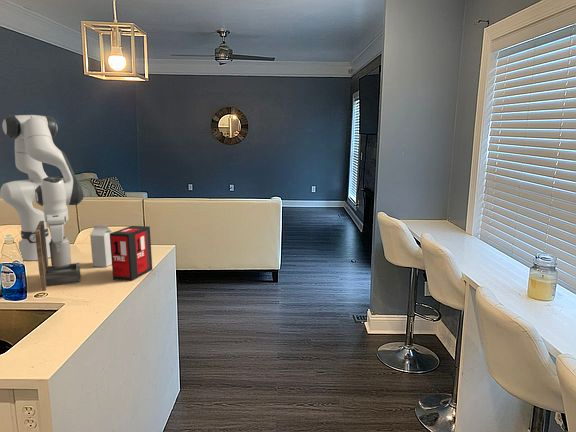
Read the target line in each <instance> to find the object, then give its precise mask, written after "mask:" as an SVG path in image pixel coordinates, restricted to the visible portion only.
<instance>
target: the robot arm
mask: <svg viewBox="0 0 576 432" xmlns="http://www.w3.org/2000/svg"><path fill="white" fill-rule="evenodd" d="M1 128H2V130H3V133H4V135H5V136H6V137H7V138H9V139H13V140H14V159H15V161H14V162H15V163H14V164H15V167H16V169H18V171H20V172H22V173H25V174H27V176H28V179H22V180H21V179H20V180H12V181H8V182H5V183H3V184H2V185H1V187H0V197H1V199H2V200H3V201H4V202H5V203H6V204H8V205H10V206H11V207H13V209H15V211H16V212H17V214H18V216H19V221H20V228H21V230H20V237H21V239H20V241H18V251H19V250H20V252H21V255H22V258H23V260H22V261H38V256H37V247H36V238H35V230H36V228H37V226H38V224H39V222H40V221H44V227H45V237H46V246H47V256H48V259H49V258H50V259H51V255H50V246H49V243H50V241H51V239H52V242H53V243H55V244H56V248H57V252H61V251H62V247H61V243H62V242H63V237H65V228H64V227H65V225H66V222H68V221H69V220H70V219H69V217H70V216H69V210H68V209H69V208H68V206H77V205H79V204H80V203H81V202H82V201H83V199H84V190H83V188H82V186H81V184H80V182H79V180H78V179H77V177H76V174H75V172H74V170H73V168H72V166H71V163H70V161H69V159H68V157H67V155H66V153H65V152H64V151H63V150H62V149H59V148H58V146H56V145H55V143H54V141H53V138H55V137H56V135H58V134H57V133H58V124H57V121H56V119H55V118H54V117H52V116H49V115H38V114H19V115H15V114H10V115H6V116H5V117H4V118H3V121H2V127H1ZM43 163H45V164H47V165H51V166H54V167H56V168H57V169H59V170H60V173H61V174H62V177H63V178H62V177H59V176H48V175H47V173H46V172H45V171H44V166H43ZM64 181H65V182H64ZM34 202H35V203H36V204H38V205H40V207H43V210H41V209H38V208H36V207H34V205H33V203H34ZM47 225H48V226H47ZM47 227H48V228H47ZM49 233H50V234H49ZM49 235H50V236H49Z"/></svg>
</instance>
